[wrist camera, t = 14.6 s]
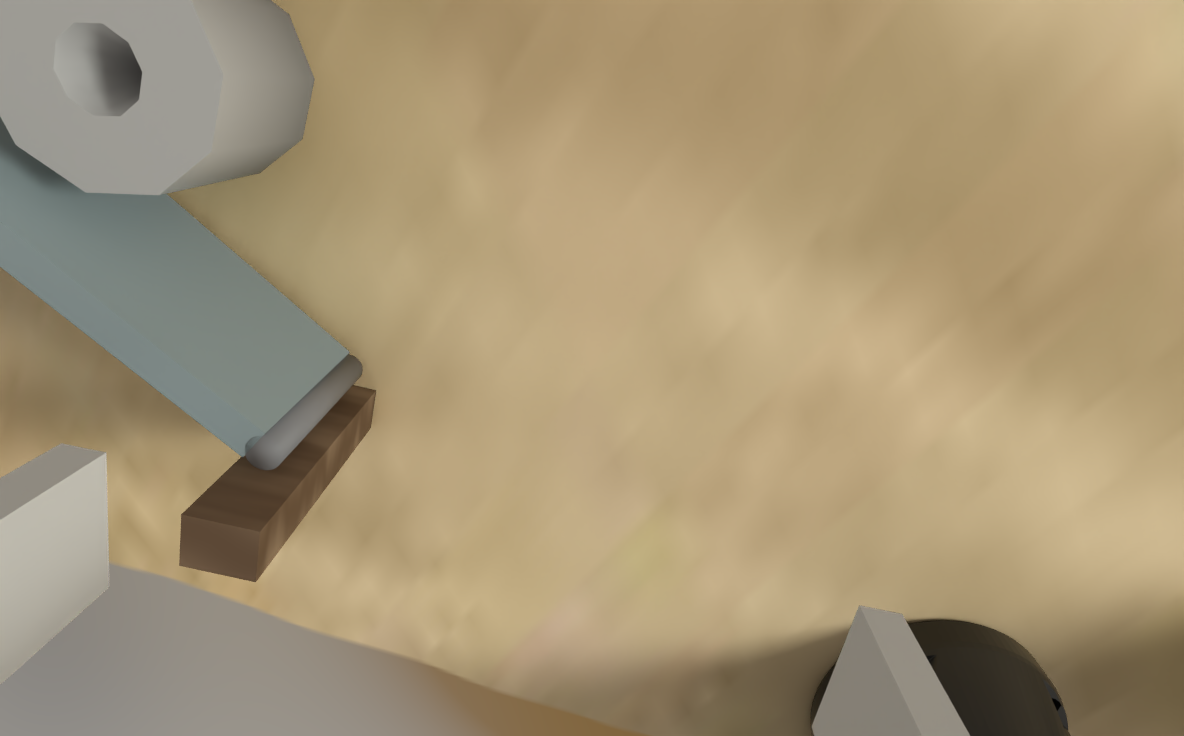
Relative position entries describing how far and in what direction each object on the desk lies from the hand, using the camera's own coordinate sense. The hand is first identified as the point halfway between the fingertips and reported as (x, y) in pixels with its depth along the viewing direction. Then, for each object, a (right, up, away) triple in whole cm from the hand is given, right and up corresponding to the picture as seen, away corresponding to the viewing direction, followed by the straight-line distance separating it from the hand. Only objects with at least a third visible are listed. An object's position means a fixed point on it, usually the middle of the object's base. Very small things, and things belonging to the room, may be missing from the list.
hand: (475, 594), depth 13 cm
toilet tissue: (-17, +19, +22) cm, 34 cm away
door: (-19, +10, +25) cm, 33 cm away
